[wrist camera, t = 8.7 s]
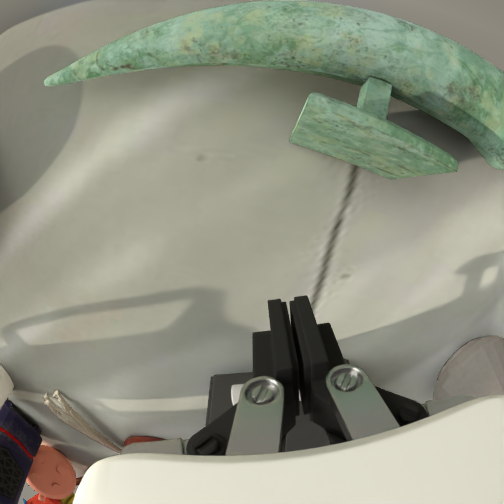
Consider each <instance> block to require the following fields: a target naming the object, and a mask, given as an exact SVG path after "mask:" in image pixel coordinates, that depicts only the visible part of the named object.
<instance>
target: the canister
mask: <svg viewBox="0 0 504 504" xmlns="http://www.w3.org/2000/svg"><path fill="white" fill-rule="evenodd" d="M11 406H12V403H10V402H9V401H8V400H6V401H5V402H4V404H3V406H2V407H1V409H0V504H18V501H19V498H20V495H21V492H22V490H23V487H24V484H25V481H26V479H27V476H28V473H29V471H30V468H31V466H32V463H33V461H34V460H33V457H35V456H36V454H37V451H38V449H39V447H40V445H41V442H42V438H41V436H40V434H41V430H40V429H39V427H38V426H37V425H35V427H33V426H32V425H31V424H29V423H28V422H27V421H26V420H25V419H24V418H23V417H21V416H20V415H19V414H18V413H17V412H16V411H14V410H13V409H12V408H10V407H11Z"/></svg>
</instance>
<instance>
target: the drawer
mask: <svg viewBox="0 0 504 504" xmlns="http://www.w3.org/2000/svg"><path fill="white" fill-rule="evenodd" d="M344 362H345V364H347V362H346V360H345V359H344ZM251 379H253V372H250V373H238V374H224V375H214V382H213V391H212V401H211V411H210V421H209V424H210V423H211V422H213V421H214V420H215V419H217V418H218V417H219V416H221V415H222V414H223V413H225V412H226V411H227V410H229V409H230V408H231V407H232V406H234V405H235V404H236V403H238V400H239V395H240V391H241V389H242V386H243V385H244V384H245V383H246V382H247V381H249V380H251ZM299 406H300V415H299V416H296V425H295V426H294V427H293V428H292V429H291V430H290V431H289V432H288V433H287V448H286V452H290V451H298V450H305V449H312V448H318V447H323V446H327V443H326V441H325V438H324V436H323V434H322V431H321V426H319V425H317V424H315V423H313V421H310V419H309V414H307V415H304V414H303V408H302V403H301V397H300V391H299Z"/></svg>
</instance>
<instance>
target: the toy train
mask: <svg viewBox="0 0 504 504" xmlns="http://www.w3.org/2000/svg"><path fill="white" fill-rule="evenodd" d="M74 497H75V494H74V493H72V494H71V495H70V496H68V497H66V498H63V499H51V498H48V497H46V499H45V501H44V502H42V501H40V500H39V499H38V498H39V493H38V494H37V495H35V496H34V497H32V498H31V499H29V500H28V501H25V500H24V499H23V501H24V504H73V500H74Z"/></svg>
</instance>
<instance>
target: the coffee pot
mask: <svg viewBox="0 0 504 504" xmlns="http://www.w3.org/2000/svg"><path fill="white" fill-rule="evenodd" d="M464 394H472V395H475V396H476V397H477V398H480V397H484V396H490V395H504V338H502V337H499V336H487V337H484V338H477V339H473V340H471V341H470V342H468V343H466V344H465V345H464V346H462V347H461V348H460V349H459V350H458V351H457V352H455V353H454V354H453V355H452V357H451V358H450V359H449V360H448V361H447V362H446V364H445V365H444V366H443V368H442V370H441V371H440V373H439V376H438V379H437V383H436V386H435V389H434V393H433V400H437V399H443V398H449V397H454V396H459V395H464Z"/></svg>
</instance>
